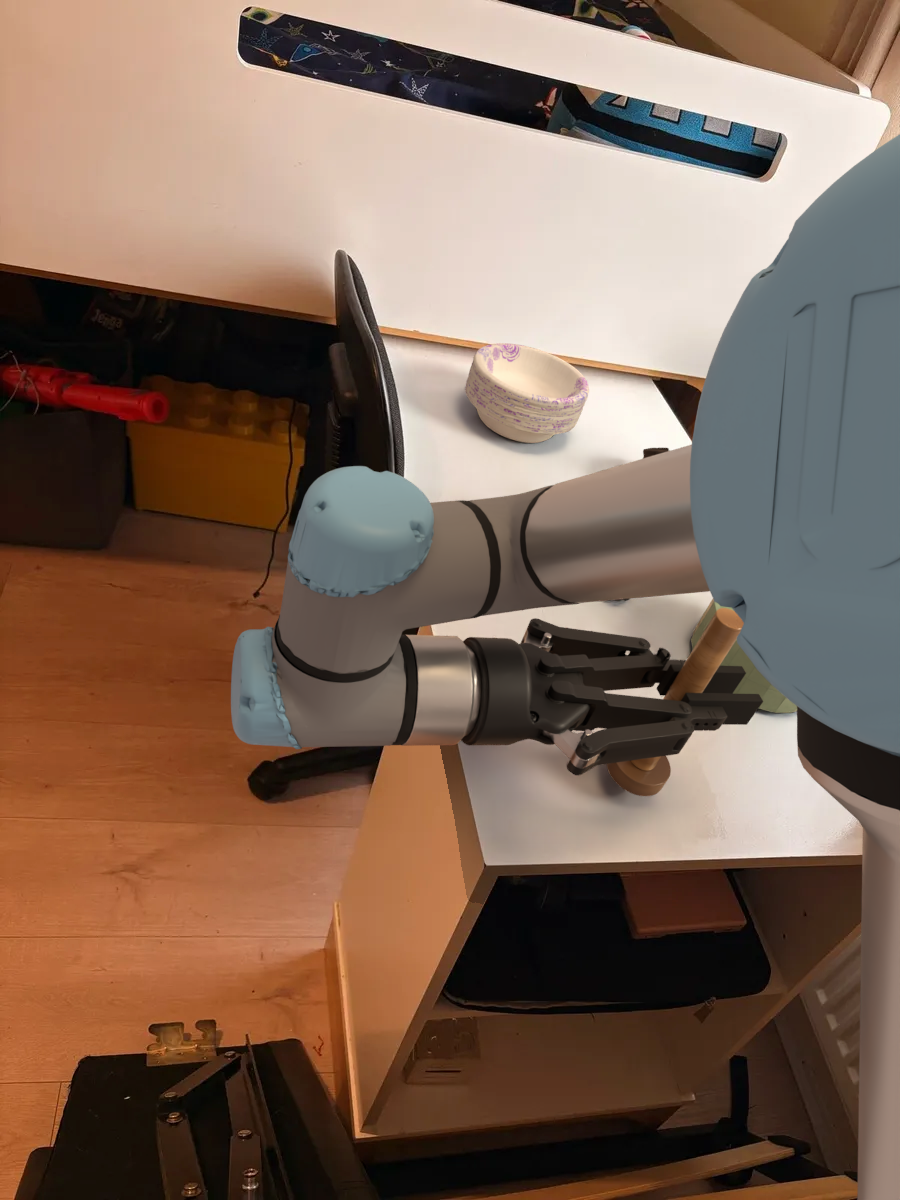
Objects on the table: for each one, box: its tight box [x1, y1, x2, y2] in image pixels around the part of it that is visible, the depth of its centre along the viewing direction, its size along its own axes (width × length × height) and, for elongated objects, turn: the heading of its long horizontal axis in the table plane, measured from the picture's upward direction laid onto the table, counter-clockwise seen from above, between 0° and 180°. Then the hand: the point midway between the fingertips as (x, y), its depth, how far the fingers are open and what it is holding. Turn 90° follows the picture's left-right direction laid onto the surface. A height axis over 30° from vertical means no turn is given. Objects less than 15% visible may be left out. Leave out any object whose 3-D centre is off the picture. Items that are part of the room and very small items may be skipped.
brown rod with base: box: [606, 608, 744, 797], centre depth 69 cm, size 5×5×18 cm
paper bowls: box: [464, 342, 590, 444], centre depth 115 cm, size 15×15×8 cm
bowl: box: [690, 598, 797, 714], centre depth 90 cm, size 13×13×6 cm
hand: (743, 695), depth 70 cm, fingers closed on brown rod with base, 2 cm apart
